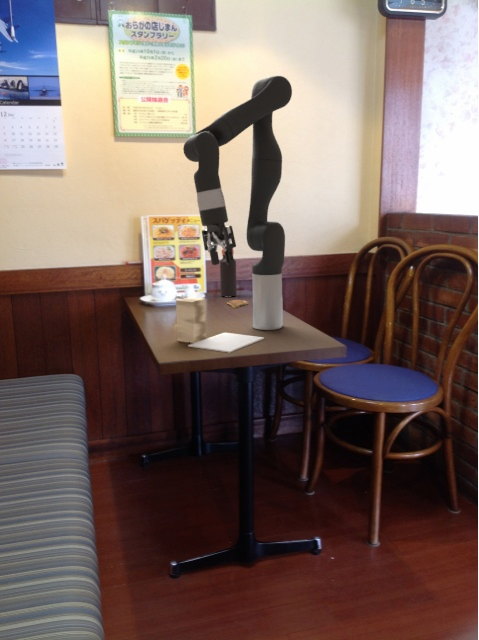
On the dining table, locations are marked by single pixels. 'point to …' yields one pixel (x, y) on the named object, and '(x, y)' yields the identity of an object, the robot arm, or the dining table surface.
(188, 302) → the wooden block
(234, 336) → the mat
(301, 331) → the dining table surface
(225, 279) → the bottle
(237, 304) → the shard
